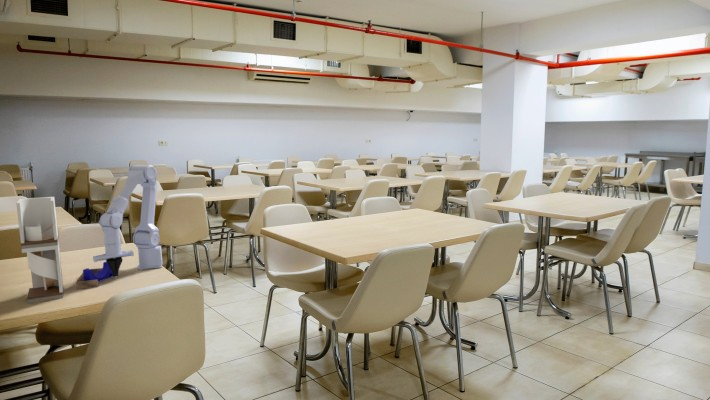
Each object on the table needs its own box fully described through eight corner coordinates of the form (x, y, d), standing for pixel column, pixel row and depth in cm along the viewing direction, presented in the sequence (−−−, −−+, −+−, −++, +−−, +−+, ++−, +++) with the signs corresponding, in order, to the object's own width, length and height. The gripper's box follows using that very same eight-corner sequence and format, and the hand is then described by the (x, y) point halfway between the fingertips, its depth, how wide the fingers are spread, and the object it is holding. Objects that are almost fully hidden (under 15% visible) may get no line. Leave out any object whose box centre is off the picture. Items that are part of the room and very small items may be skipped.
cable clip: (104, 275, 205) (102, 261, 204) (113, 276, 203) (112, 262, 203) (81, 284, 193) (79, 269, 192) (90, 285, 192) (89, 270, 191)
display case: (29, 293, 183) (19, 198, 177) (63, 288, 188) (54, 196, 183) (27, 303, 173) (16, 203, 168) (63, 297, 178) (53, 200, 173)
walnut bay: (105, 273, 207) (105, 266, 206) (97, 286, 190) (97, 279, 189) (86, 275, 205) (86, 268, 204) (77, 288, 188) (76, 280, 187)
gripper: (129, 238, 205) (131, 270, 207) (90, 244, 196) (93, 277, 198) (134, 241, 200) (136, 274, 202) (94, 247, 191) (97, 281, 193)
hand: (115, 276), depth 200 cm, fingers closed
